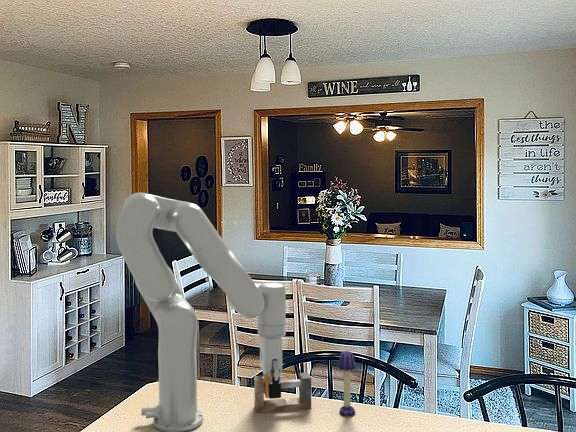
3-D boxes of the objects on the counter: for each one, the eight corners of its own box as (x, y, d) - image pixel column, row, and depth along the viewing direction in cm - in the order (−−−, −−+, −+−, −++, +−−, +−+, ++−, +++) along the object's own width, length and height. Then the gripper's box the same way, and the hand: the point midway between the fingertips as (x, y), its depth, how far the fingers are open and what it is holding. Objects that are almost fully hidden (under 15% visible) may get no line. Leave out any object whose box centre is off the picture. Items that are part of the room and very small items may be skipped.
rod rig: (256, 412, 152) (256, 381, 151) (254, 406, 156) (254, 376, 155) (311, 408, 154) (311, 378, 154) (307, 402, 159) (307, 372, 158)
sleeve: (265, 398, 151) (265, 379, 151) (263, 391, 156) (263, 373, 156) (280, 396, 152) (280, 378, 152) (277, 390, 157) (277, 372, 157)
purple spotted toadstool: (354, 417, 148) (354, 355, 147) (336, 416, 149) (337, 354, 148) (355, 410, 153) (356, 350, 152) (338, 409, 154) (339, 348, 153)
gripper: (253, 321, 161) (254, 380, 162) (262, 339, 144) (262, 404, 145) (279, 320, 162) (280, 378, 163) (291, 337, 145) (291, 402, 146)
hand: (271, 390), depth 154 cm, fingers open, 9 cm apart
